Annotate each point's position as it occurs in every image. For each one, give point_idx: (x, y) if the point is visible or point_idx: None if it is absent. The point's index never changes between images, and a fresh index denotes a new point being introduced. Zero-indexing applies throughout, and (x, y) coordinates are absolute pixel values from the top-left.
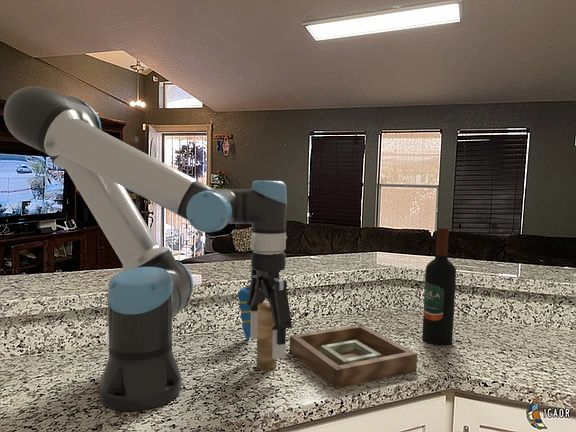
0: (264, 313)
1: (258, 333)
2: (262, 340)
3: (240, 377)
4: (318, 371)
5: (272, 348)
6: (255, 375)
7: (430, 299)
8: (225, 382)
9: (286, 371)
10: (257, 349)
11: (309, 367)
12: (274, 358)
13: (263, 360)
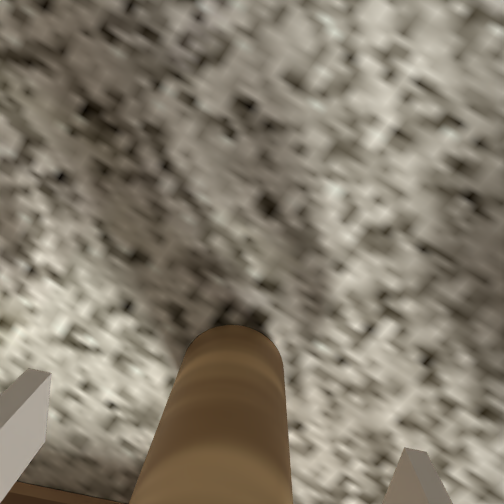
0: None
1: (214, 479)
2: (173, 446)
3: (199, 194)
4: (21, 497)
5: (10, 417)
6: (176, 270)
7: None
8: (192, 91)
9: (132, 407)
10: (241, 386)
11: (109, 501)
12: (24, 376)
13: (193, 361)
